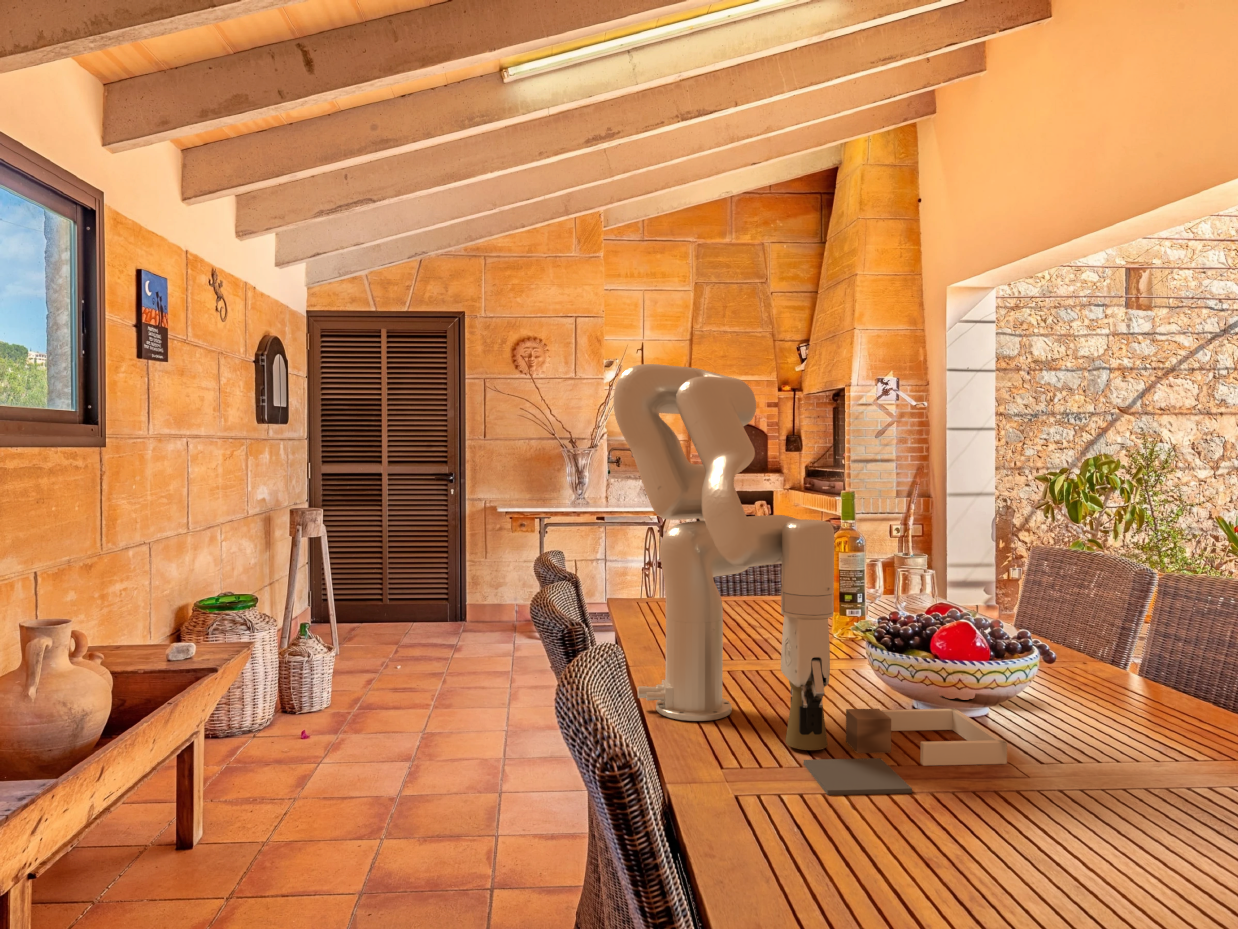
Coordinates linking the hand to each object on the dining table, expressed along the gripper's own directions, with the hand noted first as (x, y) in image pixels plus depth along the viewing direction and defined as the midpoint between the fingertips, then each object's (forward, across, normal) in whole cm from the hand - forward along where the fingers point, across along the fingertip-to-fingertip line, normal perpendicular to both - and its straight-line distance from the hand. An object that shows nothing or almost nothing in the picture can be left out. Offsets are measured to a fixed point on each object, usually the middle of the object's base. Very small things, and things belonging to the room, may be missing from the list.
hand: (805, 727), depth 129 cm
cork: (+2, 0, 0) cm, 3 cm away
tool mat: (+3, +12, +3) cm, 13 cm away
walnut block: (+3, 0, +9) cm, 10 cm away
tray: (+3, 0, +20) cm, 20 cm away
